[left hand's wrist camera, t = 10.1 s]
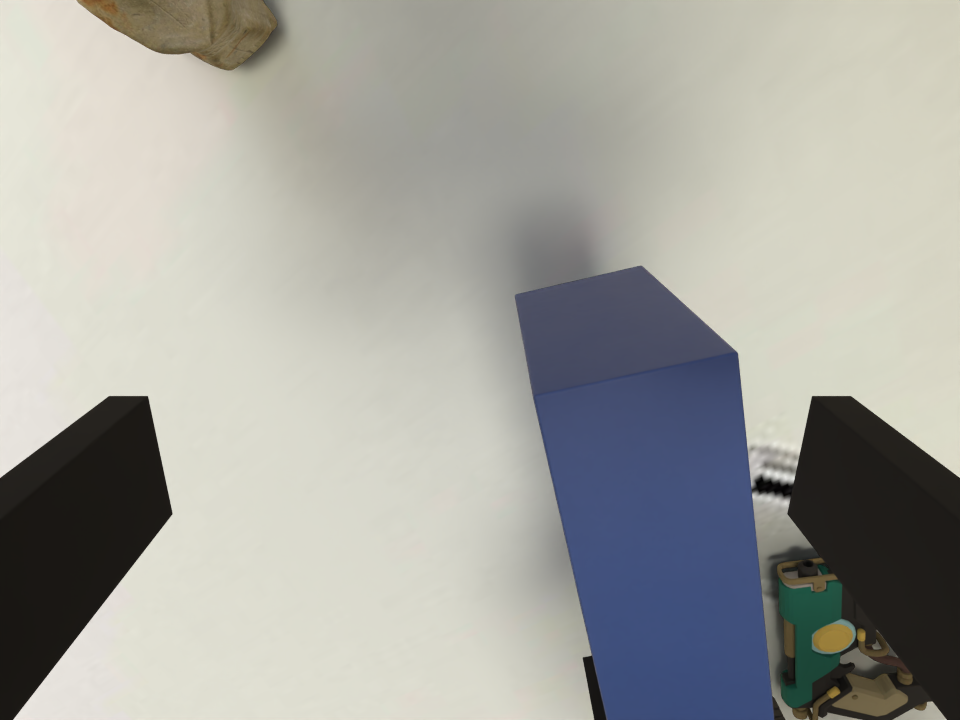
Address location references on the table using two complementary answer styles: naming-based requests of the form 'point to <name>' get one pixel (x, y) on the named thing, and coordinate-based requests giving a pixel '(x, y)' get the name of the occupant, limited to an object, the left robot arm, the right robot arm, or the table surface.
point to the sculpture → (191, 26)
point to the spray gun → (835, 651)
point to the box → (652, 495)
